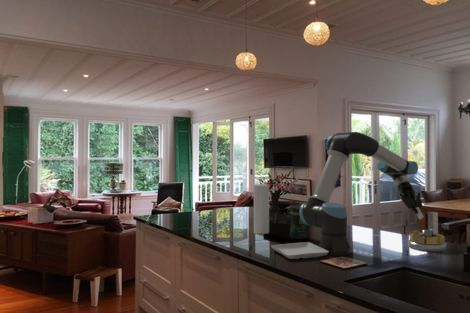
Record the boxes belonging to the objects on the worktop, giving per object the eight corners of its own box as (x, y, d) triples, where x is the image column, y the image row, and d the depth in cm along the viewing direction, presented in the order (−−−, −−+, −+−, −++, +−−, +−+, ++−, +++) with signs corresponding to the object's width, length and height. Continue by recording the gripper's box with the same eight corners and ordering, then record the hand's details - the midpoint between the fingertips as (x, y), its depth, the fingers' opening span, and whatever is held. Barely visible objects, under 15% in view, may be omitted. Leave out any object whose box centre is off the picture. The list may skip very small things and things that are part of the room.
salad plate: (287, 262, 169) (287, 254, 169) (270, 251, 189) (270, 244, 189) (330, 258, 175) (330, 251, 175) (308, 248, 195) (308, 241, 195)
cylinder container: (256, 234, 231) (256, 184, 231) (251, 231, 240) (251, 183, 240) (271, 233, 234) (271, 184, 234) (265, 230, 243) (265, 183, 243)
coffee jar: (295, 239, 215) (295, 206, 215) (287, 237, 222) (287, 205, 222) (309, 238, 219) (309, 205, 219) (301, 235, 226) (301, 204, 226)
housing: (421, 252, 185) (421, 233, 185) (402, 244, 201) (401, 227, 202) (454, 251, 187) (453, 232, 187) (431, 243, 204) (431, 226, 204)
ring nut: (434, 245, 184) (434, 216, 184) (404, 240, 196) (404, 213, 196) (450, 241, 193) (450, 213, 193) (421, 236, 205) (421, 210, 205)
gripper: (411, 189, 228) (429, 221, 212) (390, 189, 226) (407, 222, 210) (416, 180, 223) (435, 213, 206) (395, 181, 221) (413, 214, 205)
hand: (421, 218), depth 208 cm, fingers closed
